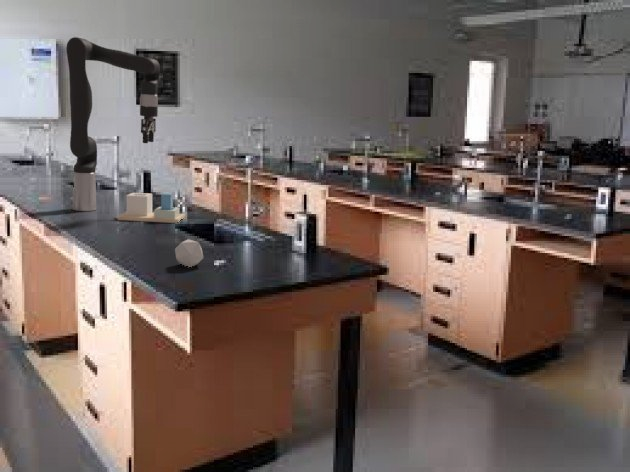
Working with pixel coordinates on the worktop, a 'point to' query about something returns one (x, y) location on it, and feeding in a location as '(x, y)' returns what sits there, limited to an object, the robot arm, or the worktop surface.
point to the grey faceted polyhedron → (189, 253)
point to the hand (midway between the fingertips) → (148, 142)
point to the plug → (167, 201)
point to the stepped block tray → (148, 210)
